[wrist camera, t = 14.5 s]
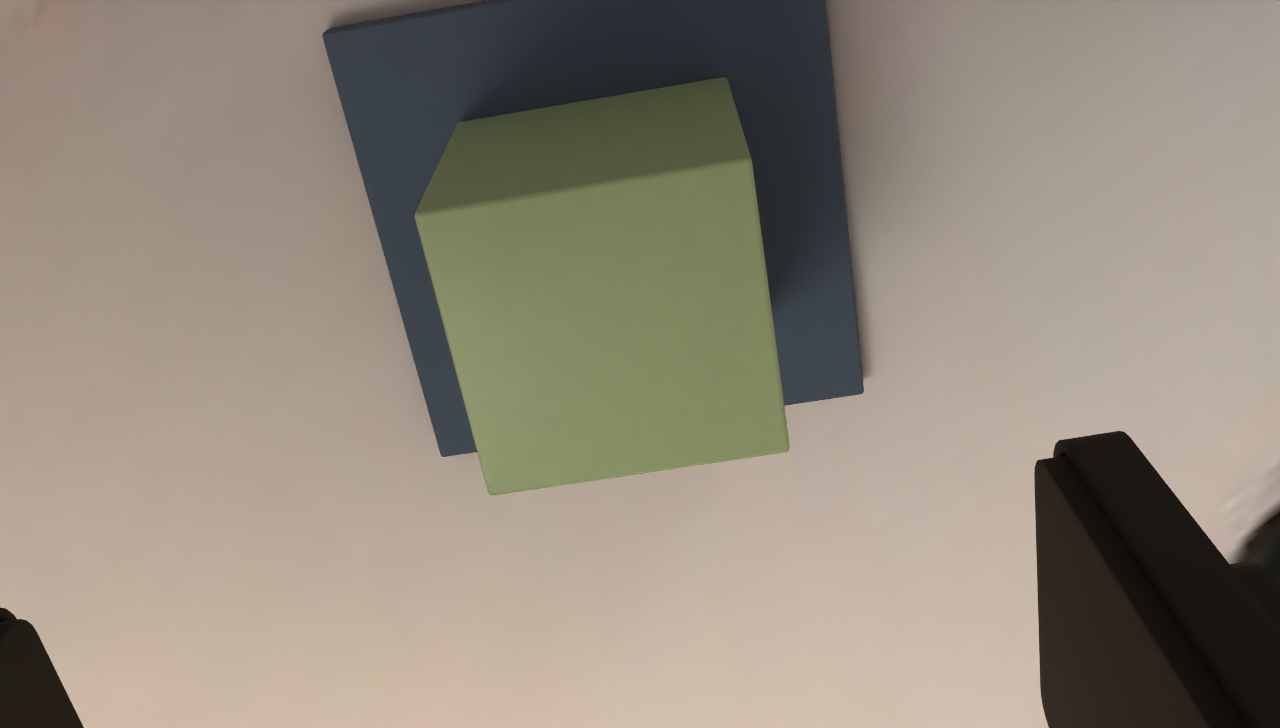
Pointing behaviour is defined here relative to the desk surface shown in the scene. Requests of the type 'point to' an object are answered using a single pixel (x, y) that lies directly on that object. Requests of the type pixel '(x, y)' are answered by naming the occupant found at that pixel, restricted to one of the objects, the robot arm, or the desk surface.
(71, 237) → the desk surface
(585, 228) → the top block
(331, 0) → the desk surface
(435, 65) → the coaster
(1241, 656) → the robot arm
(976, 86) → the desk surface
